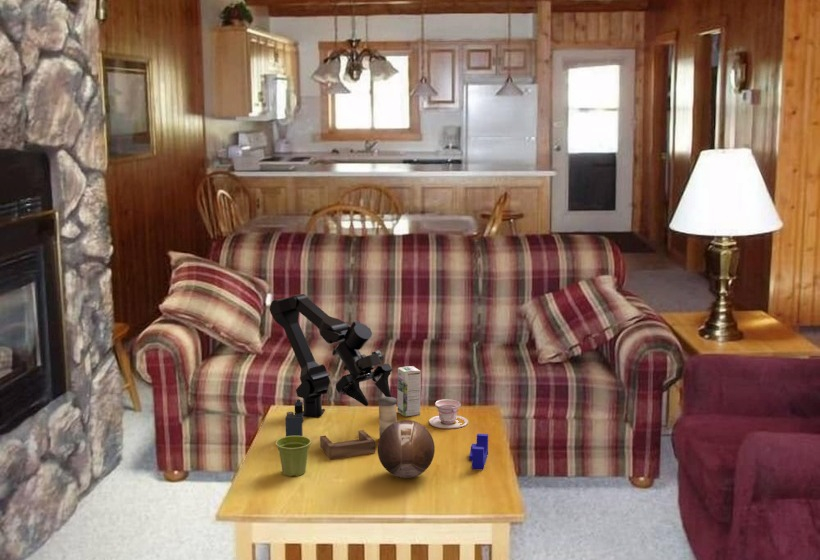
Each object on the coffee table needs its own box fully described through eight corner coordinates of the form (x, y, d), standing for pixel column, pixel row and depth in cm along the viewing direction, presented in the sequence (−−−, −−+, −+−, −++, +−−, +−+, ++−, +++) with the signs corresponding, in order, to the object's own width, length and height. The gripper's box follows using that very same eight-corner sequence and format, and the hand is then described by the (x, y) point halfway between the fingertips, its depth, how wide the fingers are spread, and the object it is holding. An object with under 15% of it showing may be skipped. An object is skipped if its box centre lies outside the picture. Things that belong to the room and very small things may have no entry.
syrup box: (396, 411, 317) (396, 367, 314) (413, 409, 320) (413, 365, 317) (404, 417, 312) (403, 372, 309) (421, 414, 315) (421, 369, 312)
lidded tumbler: (380, 435, 296) (380, 396, 294) (398, 436, 295) (397, 397, 293) (377, 441, 291) (377, 402, 288) (395, 442, 290) (395, 402, 288)
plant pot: (319, 470, 270) (318, 439, 268) (296, 482, 262) (295, 450, 260) (292, 463, 275) (291, 433, 273) (269, 474, 267) (268, 443, 266)
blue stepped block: (472, 453, 282) (472, 433, 280) (488, 454, 281) (488, 434, 280) (466, 469, 270) (466, 448, 269) (483, 470, 269) (483, 449, 268)
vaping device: (303, 440, 292) (302, 401, 290) (285, 440, 292) (284, 401, 290) (304, 437, 295) (303, 398, 292) (286, 437, 295) (285, 398, 292)
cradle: (320, 447, 287) (320, 436, 286) (363, 441, 291) (363, 429, 291) (331, 459, 278) (331, 447, 277) (375, 452, 282) (375, 441, 282)
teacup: (423, 418, 311) (423, 399, 310) (460, 414, 314) (460, 395, 313) (435, 431, 300) (435, 411, 299) (473, 427, 303) (473, 407, 302)
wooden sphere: (385, 489, 256) (384, 433, 254) (372, 468, 271) (371, 415, 268) (441, 483, 260) (441, 428, 257) (425, 462, 275) (425, 410, 272)
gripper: (341, 349, 287) (368, 393, 282) (387, 337, 300) (414, 379, 295) (323, 370, 294) (350, 414, 289) (369, 358, 307) (396, 400, 302)
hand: (378, 401), depth 293 cm, fingers open, 9 cm apart
